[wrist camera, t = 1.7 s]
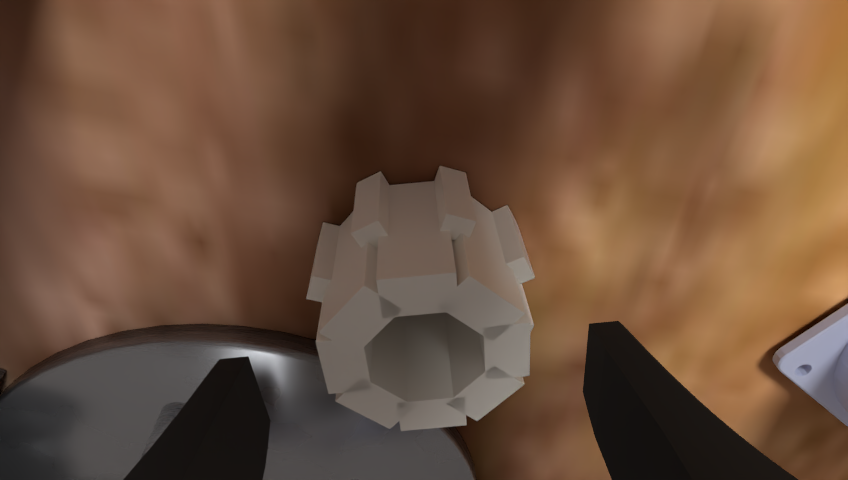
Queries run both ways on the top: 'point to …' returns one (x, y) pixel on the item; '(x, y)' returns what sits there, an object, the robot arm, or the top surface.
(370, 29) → the top surface
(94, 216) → the top surface
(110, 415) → the carrier
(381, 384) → the planet gear
